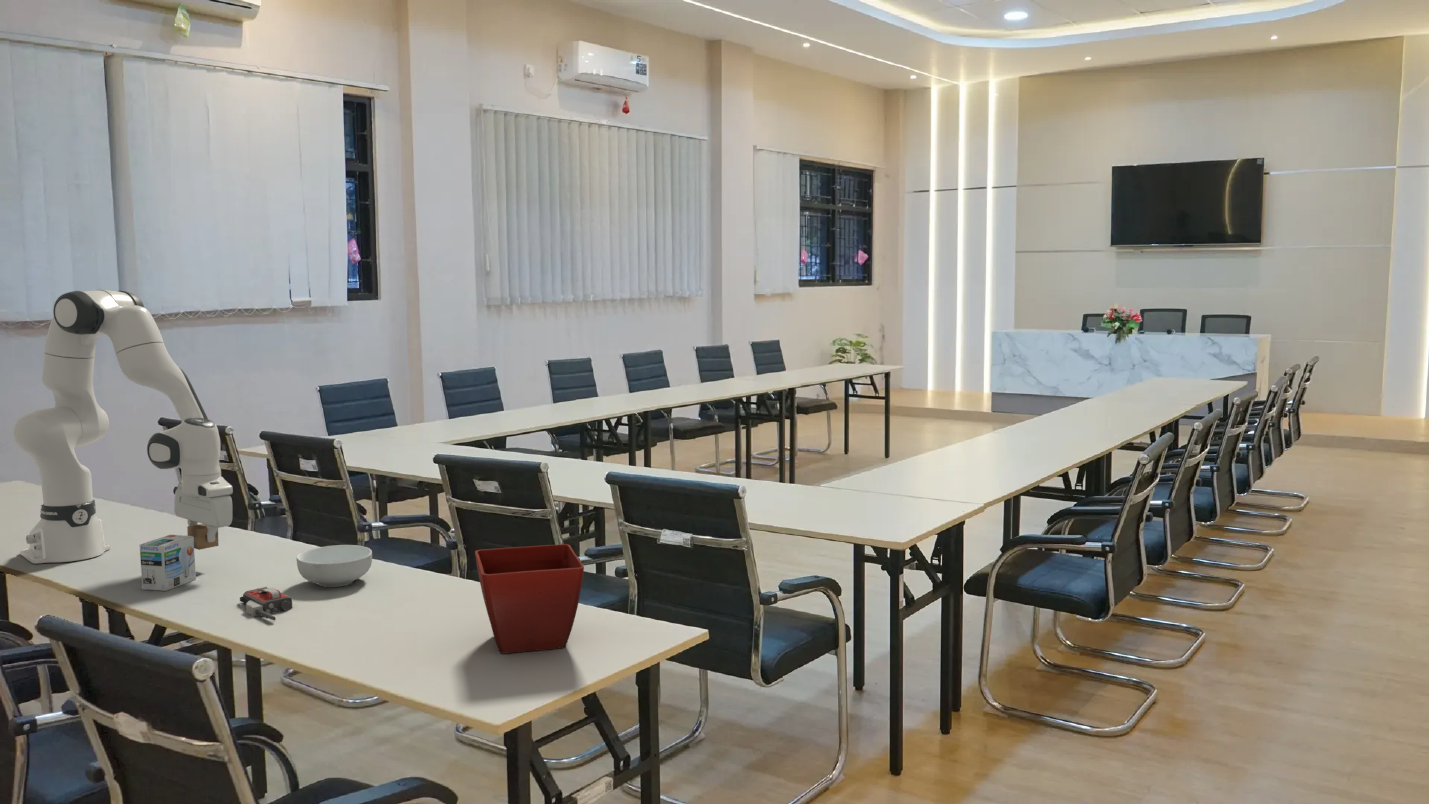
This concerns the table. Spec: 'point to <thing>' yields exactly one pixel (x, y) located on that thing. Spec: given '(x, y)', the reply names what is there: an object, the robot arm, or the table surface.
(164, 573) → the light bulb box
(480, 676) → the table surface
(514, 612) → the plant pot
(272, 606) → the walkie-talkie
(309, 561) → the cereal bowl
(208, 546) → the walnut cube
